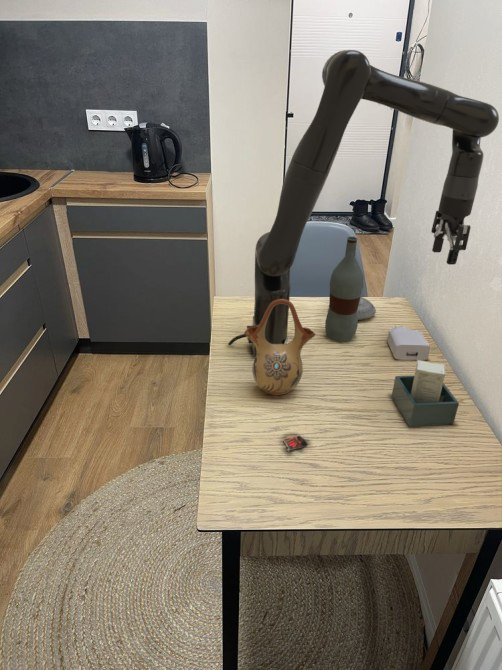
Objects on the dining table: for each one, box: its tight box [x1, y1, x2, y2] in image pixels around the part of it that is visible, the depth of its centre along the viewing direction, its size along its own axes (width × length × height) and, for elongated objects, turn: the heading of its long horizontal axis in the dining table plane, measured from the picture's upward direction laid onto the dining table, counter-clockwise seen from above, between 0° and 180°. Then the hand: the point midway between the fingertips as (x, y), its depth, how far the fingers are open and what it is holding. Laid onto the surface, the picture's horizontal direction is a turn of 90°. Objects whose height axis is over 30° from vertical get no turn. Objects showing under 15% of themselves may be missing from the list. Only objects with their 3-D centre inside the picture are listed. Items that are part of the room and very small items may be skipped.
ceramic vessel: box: [243, 299, 316, 396], centre depth 116 cm, size 16×9×25 cm, turn 90°
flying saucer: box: [357, 296, 377, 321], centre depth 159 cm, size 15×15×6 cm
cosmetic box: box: [411, 360, 446, 403], centre depth 114 cm, size 6×4×12 cm
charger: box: [386, 325, 431, 361], centre depth 141 cm, size 5×9×15 cm
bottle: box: [324, 236, 364, 344], centre depth 139 cm, size 9×9×30 cm
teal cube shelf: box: [391, 374, 460, 428], centre depth 115 cm, size 10×11×6 cm
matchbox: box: [282, 433, 309, 453], centre depth 105 cm, size 5×5×1 cm
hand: (443, 257), depth 127 cm, fingers open, 8 cm apart
